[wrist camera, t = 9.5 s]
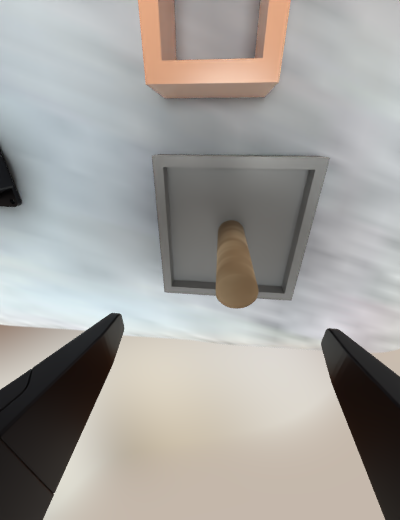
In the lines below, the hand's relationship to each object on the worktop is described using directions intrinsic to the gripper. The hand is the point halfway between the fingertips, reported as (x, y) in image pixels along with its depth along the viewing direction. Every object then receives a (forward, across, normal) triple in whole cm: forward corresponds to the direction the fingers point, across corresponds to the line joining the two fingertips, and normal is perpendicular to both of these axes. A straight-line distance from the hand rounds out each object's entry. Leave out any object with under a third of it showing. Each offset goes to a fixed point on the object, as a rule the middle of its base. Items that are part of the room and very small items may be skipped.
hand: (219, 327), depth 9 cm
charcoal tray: (+13, -1, 0) cm, 13 cm away
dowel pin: (+12, -1, 0) cm, 12 cm away
